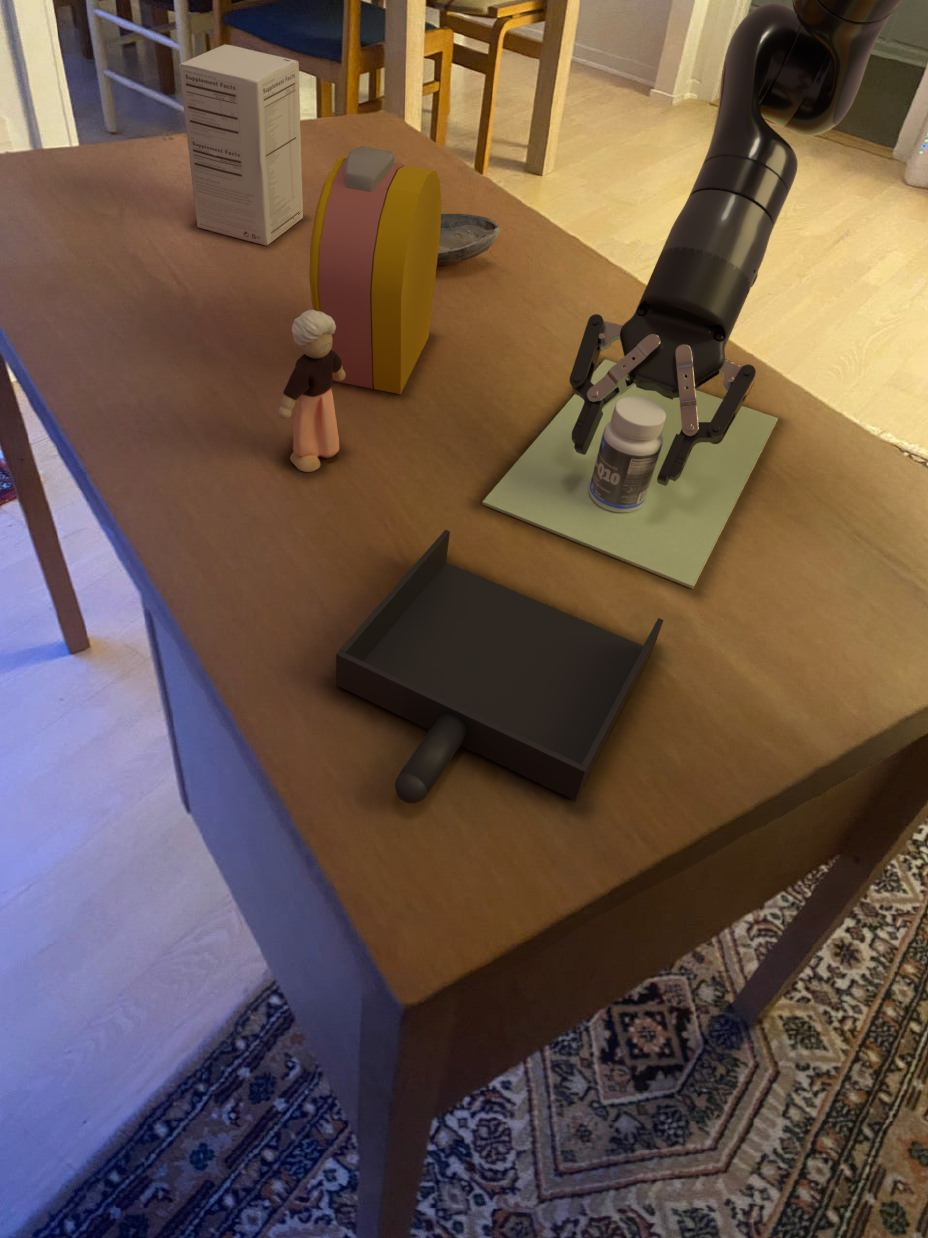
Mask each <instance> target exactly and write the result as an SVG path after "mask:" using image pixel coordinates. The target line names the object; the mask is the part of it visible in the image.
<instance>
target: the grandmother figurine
mask: <svg viewBox="0 0 928 1238" xmlns="http://www.w3.org/2000/svg"><path fill="white" fill-rule="evenodd" d="M335 329H336V325H335V322H334V320H333V319H332V318H331V317H330V316H328V315H326V314H325V313H323V312H320V311H315V310H314V309H308V310H306V311H304V312H302V313H301V314H300V315H299V316H298V317H296V318H295V319H294V321H293V323H292V325H291V334H292V335H293V341H294V343H295V344H296V345H298V346H299V349H300V351H301V352H302V353H303V354H302V355H301V356H299V358H298V359H297V360H296V361H295V364H294V365H295V366H294V368H293V370H292V372H291V374H290V375H289V378H288V381H287V383H286V385H285V387H284V389H283V395H282V398H281V401H280V403H281V404H280V407H279V408H278V410H277V413H278V416H279V417H280V418H281V419H283V420H287V419H289V418H291V417H292V412H293V408H294V407H295V405H296V402H297V401H298V404H297V408H296V412H295V416H294V421H293V428H292V431H293V437H292V439H293V443H292V444H293V445H292V450H293V452H292V453H291V455H290V458H289V460H290V462H291V463H292V464H293V465H294V466H295V467H296V468H297V470H299V471H301V472H304V473H312V472H315V471H316V470H319V469H320V467H321V461H320V459H319V458H324V459H328V458H329V459H330V458H333V457H334V456H335V455H337V454H338V452H339V451H340V437H339V431H338V430H339V429H338V422H337V417H336V411H335V410H336V409H335V402H334V394H333V391H332V387H333V381H332V374H333V378H334V379H335V380H336V381H342V380H344V378H345V375H346V374H345V371H344V370H343V366H342V361H341V358H340V357H339V356H338V354H337V353H336V352H334V351H332V350H331V348H332V343H333V341H332V334H333V333H334V332H335ZM336 381H335V382H336Z"/></svg>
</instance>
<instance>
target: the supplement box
mask: <svg viewBox="0 0 928 1238" xmlns="http://www.w3.org/2000/svg"><path fill="white" fill-rule="evenodd" d="M299 63H300V62H299V61H298V60H296V59H292V58H287V57H285V56H284V57H283V56H279V55H274V54H270V53H266V52H261V51H257V50H253V49H249V48H245V47H240V46H236V45H232V44H222V45H220V46H217V47H215V48H213V49H211V50H208V51H206V52H204V53H202V54H199V55H197V56H195V57H192V58H189V59H188V60H185V61H183V62H180V63H179V64H178V71H179V80H180V86H181V95H182V96H181V97H182V104H183V105H182V106H183V113H184V121H185V131H186V140H187V149H188V157H189V166H190V173H191V174H190V175H191V181H192V182H191V183H192V191H193V200H194V201H193V202H194V208H195V219H196V227H197V228H199V229H202V230H206V231H209V232H213V233H218V234H221V235H225V236H228V237H232V238H237V239H240V240H244V241H247V242H250V243H251V242H252V243H255V244H258V245H262V246H265V247H266V246H269V245H270V244H271V243H272V242H274V241H275V240H276V239H277V238H279V237H281V235H283V234H284V233H285V232H287V231H288V230H289V229H290V228H292V227H293V226H295V225H296V224H297V223H299V222H300V221H302V220H303V219H304V205H303V204H304V201H303V169H302V138H301V136H302V135H301V100H300V98H301V97H300V95H301V94H300V64H299ZM302 210H303V211H302ZM300 212H301V213H300ZM299 213H300V214H299ZM298 214H299V215H298ZM293 218H294V219H293ZM207 222H208V223H207ZM211 223H212V224H211ZM214 224H215V225H214Z"/></svg>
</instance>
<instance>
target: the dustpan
mask: <svg viewBox="0 0 928 1238" xmlns="http://www.w3.org/2000/svg"><path fill="white" fill-rule="evenodd" d="M450 534H451V531H450V530H448V529H444V530H443V532H442V533H441V534H440V535H439V536H438V537H437V538H436V539H435V541H434V542H433V543H432V544H431V545H430V546H429V547H428V549H427V550H425V552H424V553H423V554H422V556H420V557H419V559H418V560H417V561H416V562H415V563H414V564H413V566H412V567H411V568H410V569H409V570H408V571H407V572H406V574H404V576H403V577H402V578H401V579H400V580H399V582H398V583H396V585H395V586H394V587H393V588H392V589H391V590H390V592H389V593H388V594H387V595H386V597H385V598H383V600H382V601H381V602H380V603H379V605H378V606H377V607H376V608H375V609H374V610H373V611H372V612H371V613H370V615H368V617H367V618H366V619H365V620H364V621H363V623H362V624H361V625H360V626H359V627H358V628H357V629H356V631H354V633H353V634H352V635H351V636H350V637H349V638H348V640H347V641H346V642H345V643H344V644H343V645H342V646H341V648H340V649H339V650H338V651H337V652H336V654H335V686H337V687H340V688H342V689H344V690H346V691H348V692H349V693H352V694H354V695H357V697H360V698H362V699H364V700H366V701H368V702H370V703H372V704H374V705H377V706H378V707H381V708H383V709H386V710H387V711H388V712H391V713H393V714H395V715H398V716H399V717H401V718H403V719H405V720H407V721H409V722H412V723H413V724H416V725H418V726H420V727H422V728H424V729H426V730H427V731H428V732H427V733H426V735H425V736H424V738H423V739H422V740H421V742H420V744H419V745H418V746H417V747H416V749H415V750H414V751H413V753H412V754H411V756H410V758H409V759H408V760H407V762H406V763H405V764H404V766H403V768H402V769H401V770H400V772H399V773H398V774H397V777H396V778H395V781H394V791H395V793H396V796H397V798H399V799H400V800H401V801H402V802H404V803H406V804H412V805H413V804H417V803H420V802H422V801H423V800H424V799H425V798H426V797H427V796H428V795H429V793H430V792H431V790H432V789H433V787H434V786H435V784H436V782H437V781H438V780H439V778H440V776H441V775H442V774H443V772H444V771H445V769H446V768H447V766H448V764H449V763H450V761H451V760H452V759H453V757H454V756H455V754H456V752H457V751H458V750H459V748H460V747H463V748H465V749H468V750H470V751H472V752H474V753H475V754H478V755H480V756H482V757H484V758H486V759H488V760H490V761H492V762H494V763H496V764H499V765H500V766H503V767H505V768H507V769H508V770H511V771H513V772H515V773H517V774H519V775H521V776H523V777H525V778H528V779H529V780H532V781H534V782H536V783H538V784H540V785H542V786H544V787H546V788H548V789H550V790H553V791H555V792H556V793H559V794H560V795H563V796H565V797H567V798H569V799H570V800H573V801H576V800H577V799H578V798H579V796H580V794H581V792H582V790H583V788H584V786H585V784H586V782H587V780H588V778H589V776H590V774H591V772H592V770H593V768H594V767H595V764H596V763H597V760H598V758H599V756H600V754H601V753H602V751H603V749H604V747H605V745H606V743H607V742H608V739H609V737H610V735H611V733H612V732H613V729H614V727H615V725H616V724H617V722H618V720H619V718H620V715H621V714H622V712H623V710H624V708H625V706H626V704H627V702H628V700H629V698H630V696H631V695H632V692H633V691H634V688H635V686H636V684H637V682H638V680H639V678H640V677H641V675H642V672H643V671H644V669H645V667H646V665H647V663H648V661H649V659H650V657H651V655H652V653H653V651H654V648H655V645H656V642H657V639H658V638H659V634H660V631H661V630H662V626H663V623H664V621H665V620H664V619H663V618H660V617H657V619H656V621H655V623H654V625H653V627H652V629H651V631H650V633H649V634H648V636H647V638H646V640H645V642H644V644H640V643H637V642H636V641H633V640H630V639H628V638H626V637H623V636H621V635H618V634H616V633H614V632H611V631H609V630H607V629H605V628H602V627H600V626H598V625H595V624H592V623H591V622H588V621H586V620H584V619H581V618H579V617H577V616H575V615H572V614H570V613H567V612H565V611H562V610H560V609H558V608H555V607H554V606H551V605H548V604H546V603H544V602H541V601H539V600H537V599H534V598H532V597H529V596H527V595H525V594H522V593H520V592H518V591H515V590H513V589H510V588H508V587H506V586H503V585H501V584H499V583H497V582H495V581H492V580H490V579H488V578H485V577H482V576H480V575H478V574H475V573H473V572H471V571H468V570H466V569H464V568H461V567H459V566H457V565H454V564H452V563H450V562H448V561H447V560H448V551H449V543H450Z"/></svg>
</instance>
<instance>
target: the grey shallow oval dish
mask: <svg viewBox="0 0 928 1238" xmlns="http://www.w3.org/2000/svg"><path fill="white" fill-rule="evenodd" d="M501 231H502V230H501V225H500V223H499V222H498V221H496V220H494V219H492V218H488V217H485V216H480V215H474V214H468V213H441V231H440V240H439V249H441V250H443V252H440V251H438V258H437V265H442V266H443V265H445V266H446V265H447V266H448V265H453V264H456V263H460V262H463V260H464V261H467V260H469V259H472V258H476V257H477V256H479V255H481V254H483V253H485V252H486V251H488V250H490V248H491V247H492V246H494V245H495V243H496V241H497V240H498V239H499V237H500V234H501Z"/></svg>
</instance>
